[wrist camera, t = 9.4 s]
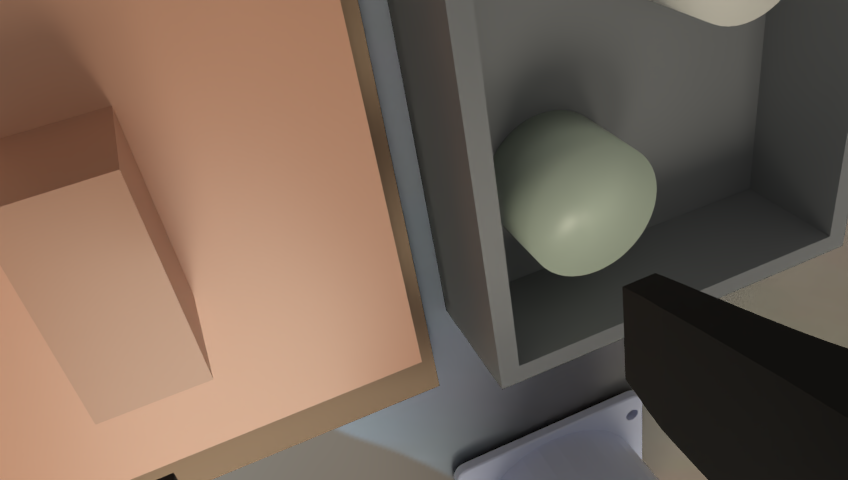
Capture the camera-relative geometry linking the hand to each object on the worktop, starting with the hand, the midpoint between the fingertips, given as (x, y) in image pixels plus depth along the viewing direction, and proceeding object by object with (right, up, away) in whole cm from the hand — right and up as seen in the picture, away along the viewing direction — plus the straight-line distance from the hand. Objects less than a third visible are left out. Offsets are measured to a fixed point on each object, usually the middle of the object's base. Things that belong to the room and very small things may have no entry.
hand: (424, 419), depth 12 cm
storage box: (+5, +8, +10) cm, 14 cm away
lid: (-8, +4, +6) cm, 10 cm away
